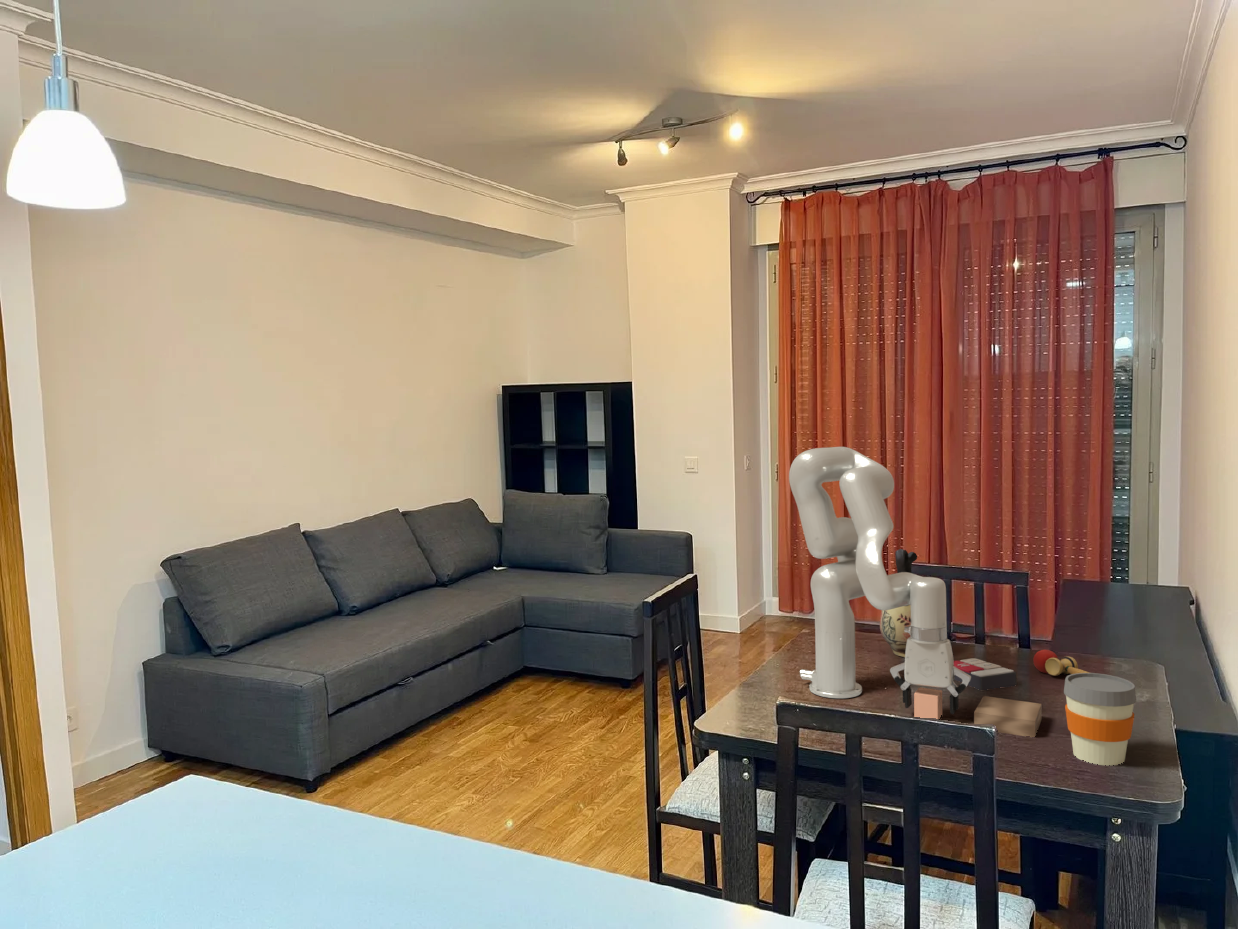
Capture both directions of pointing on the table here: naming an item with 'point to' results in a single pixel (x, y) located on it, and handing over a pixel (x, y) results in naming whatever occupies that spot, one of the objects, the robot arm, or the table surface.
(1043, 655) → the kendama
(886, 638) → the ceramic jug
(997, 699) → the base
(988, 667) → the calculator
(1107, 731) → the reusable coffee cup
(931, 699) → the block
